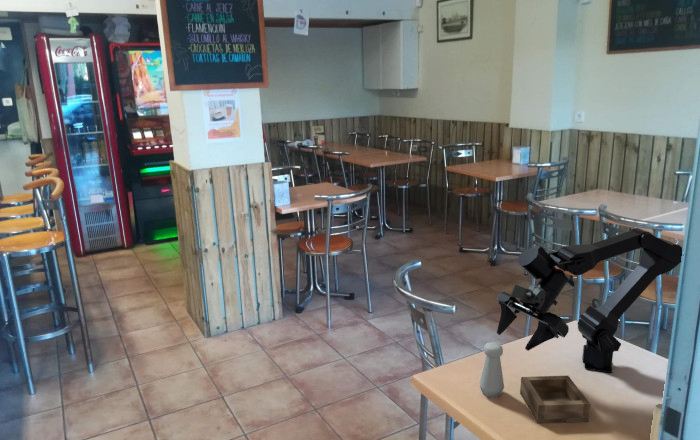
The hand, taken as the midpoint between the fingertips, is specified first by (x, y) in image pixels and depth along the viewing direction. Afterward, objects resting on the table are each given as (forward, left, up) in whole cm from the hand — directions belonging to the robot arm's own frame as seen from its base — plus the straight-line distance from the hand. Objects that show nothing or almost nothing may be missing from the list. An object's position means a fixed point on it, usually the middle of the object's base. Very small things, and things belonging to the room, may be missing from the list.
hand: (511, 341), depth 126 cm
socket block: (-10, +6, -12) cm, 17 cm away
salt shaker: (+4, +5, -12) cm, 14 cm away
